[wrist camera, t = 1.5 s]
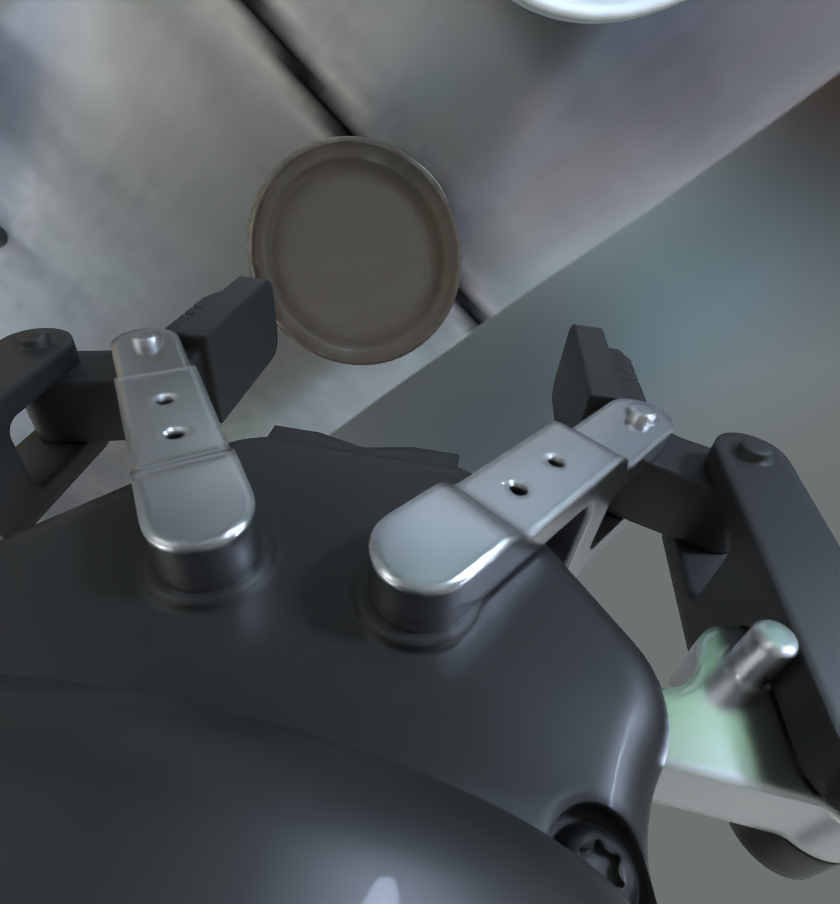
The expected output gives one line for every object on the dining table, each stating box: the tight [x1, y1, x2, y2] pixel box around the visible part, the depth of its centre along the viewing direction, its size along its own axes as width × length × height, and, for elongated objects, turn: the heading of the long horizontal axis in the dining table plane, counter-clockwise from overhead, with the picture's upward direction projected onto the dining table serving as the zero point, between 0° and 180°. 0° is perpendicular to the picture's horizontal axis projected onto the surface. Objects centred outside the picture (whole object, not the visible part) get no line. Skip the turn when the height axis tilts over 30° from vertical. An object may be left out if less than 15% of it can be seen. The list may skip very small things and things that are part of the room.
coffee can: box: [247, 136, 462, 365], centre depth 30 cm, size 10×10×14 cm
